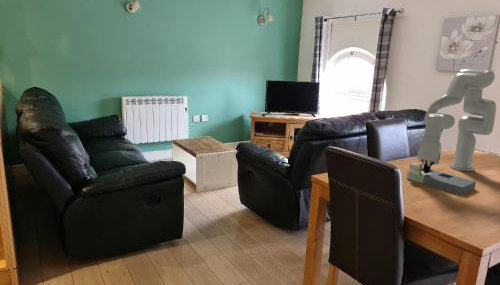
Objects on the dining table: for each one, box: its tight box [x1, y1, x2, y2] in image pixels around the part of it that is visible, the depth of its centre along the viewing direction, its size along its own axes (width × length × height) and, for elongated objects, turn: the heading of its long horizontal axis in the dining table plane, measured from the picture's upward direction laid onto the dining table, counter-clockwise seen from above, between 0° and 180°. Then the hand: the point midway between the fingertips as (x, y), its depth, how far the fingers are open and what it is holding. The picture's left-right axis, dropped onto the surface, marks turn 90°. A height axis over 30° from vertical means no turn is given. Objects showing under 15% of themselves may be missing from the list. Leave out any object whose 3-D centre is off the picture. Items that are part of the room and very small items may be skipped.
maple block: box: [408, 161, 424, 175], centre depth 192 cm, size 5×5×5 cm
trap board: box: [406, 166, 477, 196], centre depth 189 cm, size 15×28×4 cm, turn 37°
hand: (426, 172), depth 190 cm, fingers closed
